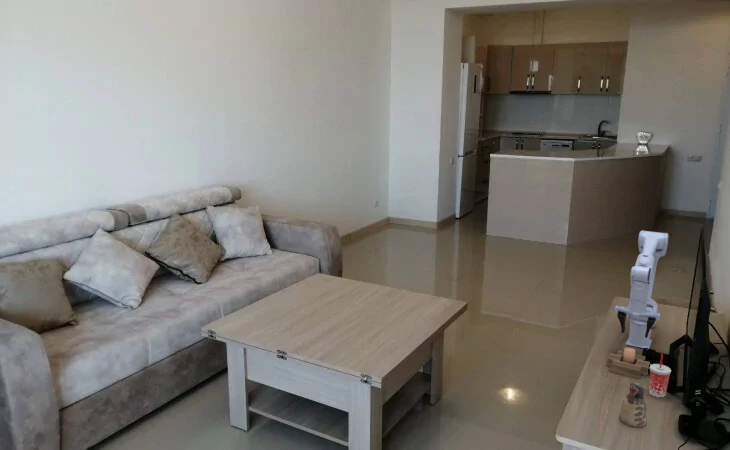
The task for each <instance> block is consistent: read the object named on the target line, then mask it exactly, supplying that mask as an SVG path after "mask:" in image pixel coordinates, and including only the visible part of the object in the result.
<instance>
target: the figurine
mask: <svg viewBox="0 0 730 450" xmlns="http://www.w3.org/2000/svg"><path fill="white" fill-rule="evenodd" d="M629 385H630V386H629V393H628V394H626V395H625V396H624V397H623V399H622V402H621V407H620V410H619V419H620V421H621V422H622V423H624V424H625V425H627V426H630V427H633V428H642V427H645V426H647V425H646V424H647V405H646V402H645V401H644V400H646V398H647V397H645V391H646V389H645V388H644V387H643V386H642V385H641V384H640V383H639V382H633V383H630V384H629Z"/></svg>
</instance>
